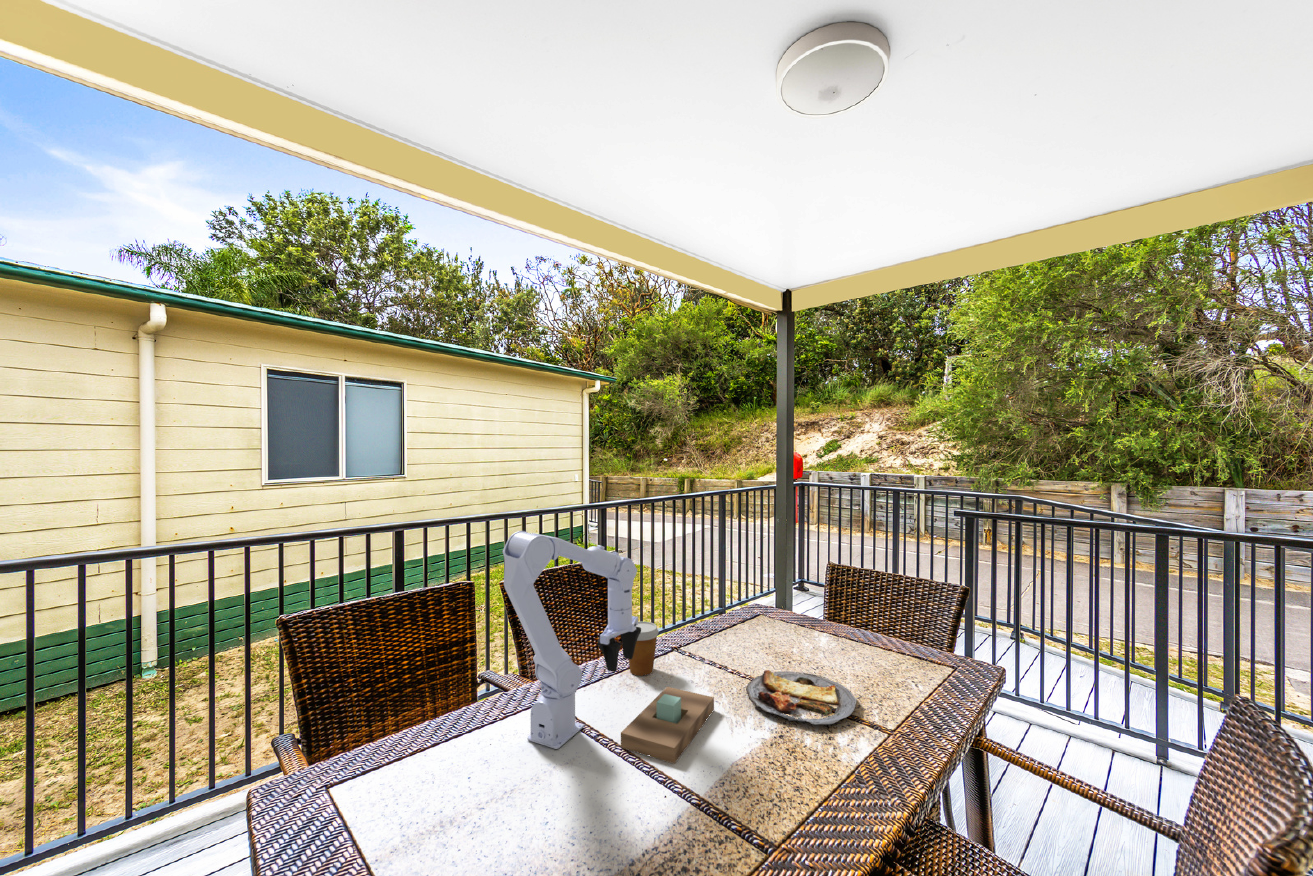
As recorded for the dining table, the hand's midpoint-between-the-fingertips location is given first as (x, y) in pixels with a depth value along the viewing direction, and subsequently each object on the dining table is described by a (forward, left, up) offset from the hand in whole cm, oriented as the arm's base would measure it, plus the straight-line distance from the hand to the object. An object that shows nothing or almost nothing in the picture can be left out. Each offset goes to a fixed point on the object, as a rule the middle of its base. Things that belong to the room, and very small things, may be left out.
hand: (620, 664), depth 119 cm
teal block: (-4, -15, -10) cm, 18 cm away
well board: (-4, -15, -9) cm, 18 cm away
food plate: (+20, -38, -10) cm, 44 cm away
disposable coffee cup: (+18, +4, -10) cm, 21 cm away
